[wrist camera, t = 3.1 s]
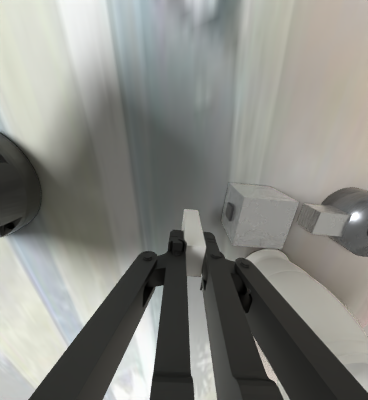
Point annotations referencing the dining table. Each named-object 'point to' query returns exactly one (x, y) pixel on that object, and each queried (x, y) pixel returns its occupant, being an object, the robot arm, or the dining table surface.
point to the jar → (317, 312)
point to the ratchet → (340, 219)
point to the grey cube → (257, 216)
